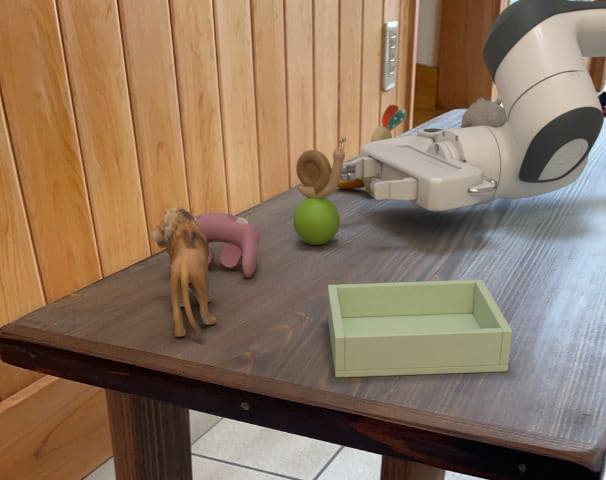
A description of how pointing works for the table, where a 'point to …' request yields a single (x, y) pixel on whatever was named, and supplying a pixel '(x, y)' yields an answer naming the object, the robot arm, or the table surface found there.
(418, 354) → the tray
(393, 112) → the rattle
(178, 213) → the lion figurine
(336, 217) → the snail figurine
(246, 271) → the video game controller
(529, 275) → the table surface
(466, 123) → the rhinoceros figurine
